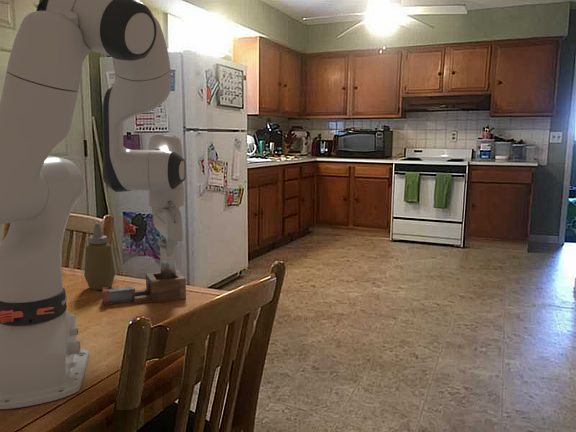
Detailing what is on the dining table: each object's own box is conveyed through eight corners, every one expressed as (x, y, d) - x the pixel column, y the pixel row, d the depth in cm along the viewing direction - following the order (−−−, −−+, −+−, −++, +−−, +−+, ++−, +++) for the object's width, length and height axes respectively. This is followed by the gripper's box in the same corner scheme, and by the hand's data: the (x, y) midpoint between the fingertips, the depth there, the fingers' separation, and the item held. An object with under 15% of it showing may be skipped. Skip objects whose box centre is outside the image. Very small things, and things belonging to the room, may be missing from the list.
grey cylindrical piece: (179, 280, 133) (178, 242, 132) (160, 282, 132) (159, 244, 130) (175, 275, 138) (175, 239, 136) (157, 277, 136) (156, 240, 134)
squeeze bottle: (122, 285, 144) (119, 222, 141) (100, 293, 137) (97, 227, 133) (100, 281, 147) (97, 219, 144) (78, 289, 140) (74, 224, 137)
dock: (186, 298, 134) (185, 278, 133) (135, 305, 128) (135, 284, 127) (178, 289, 142) (177, 269, 141) (130, 294, 136) (129, 274, 135)
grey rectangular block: (135, 301, 131) (135, 288, 130) (104, 305, 128) (103, 291, 127) (133, 297, 134) (132, 284, 133) (102, 301, 131) (102, 287, 130)
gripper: (188, 204, 123) (189, 259, 125) (171, 193, 141) (172, 242, 144) (161, 205, 120) (163, 262, 123) (147, 194, 139) (149, 243, 141)
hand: (167, 251), depth 133 cm, fingers closed on grey cylindrical piece, 4 cm apart
